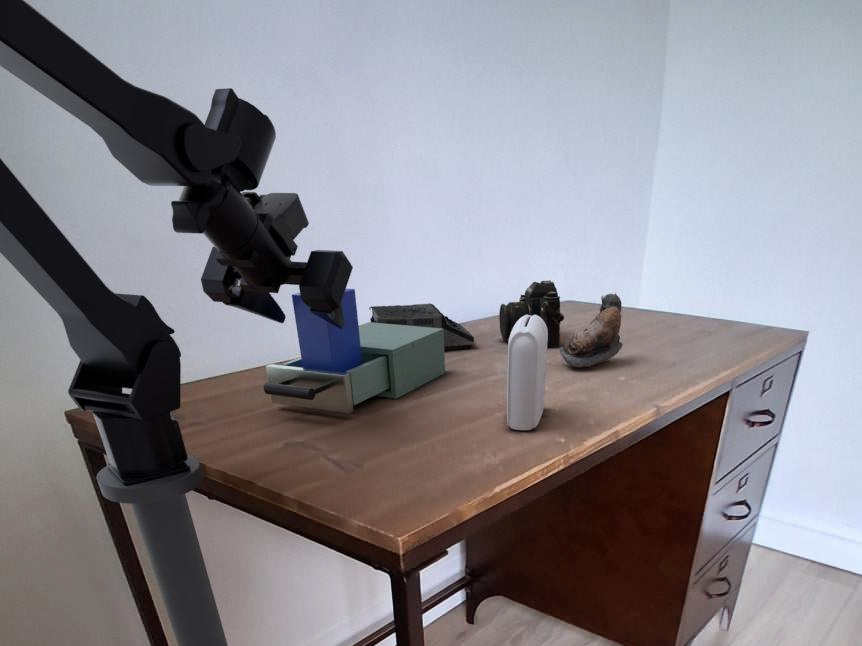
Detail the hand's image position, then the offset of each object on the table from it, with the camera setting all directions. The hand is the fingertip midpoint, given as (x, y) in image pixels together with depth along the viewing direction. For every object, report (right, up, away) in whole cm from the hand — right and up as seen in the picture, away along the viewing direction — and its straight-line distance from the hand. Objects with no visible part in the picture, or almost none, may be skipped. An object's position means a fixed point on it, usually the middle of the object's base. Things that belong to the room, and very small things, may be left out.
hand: (312, 322), depth 86 cm
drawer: (+1, -7, +7) cm, 10 cm away
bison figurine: (+40, +5, +26) cm, 48 cm away
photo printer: (+28, -12, +2) cm, 30 cm away
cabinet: (+7, -1, +18) cm, 19 cm away
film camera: (+31, +16, +41) cm, 54 cm away
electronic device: (+11, +14, +38) cm, 42 cm away
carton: (+1, -6, +8) cm, 9 cm away
